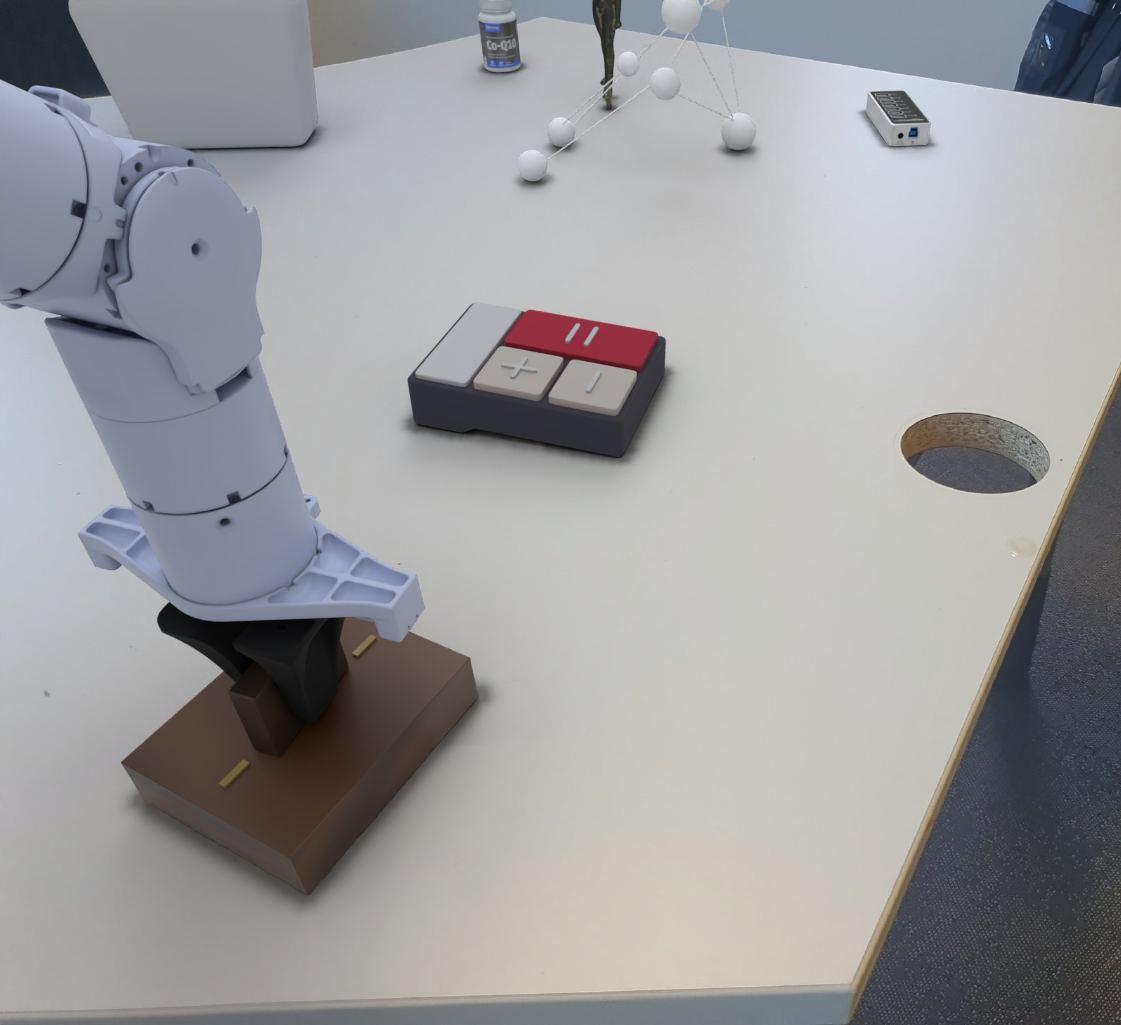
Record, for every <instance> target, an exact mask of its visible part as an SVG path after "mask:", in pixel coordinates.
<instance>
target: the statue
mask: <svg viewBox="0 0 1121 1025" xmlns="http://www.w3.org/2000/svg"><path fill="white" fill-rule="evenodd" d="M591 9H592V12H591V13H592V18H593V22H594V25H595V26H594V27H595V29H596V31H597V33H598V35H599V38H600V47H601V52H602V57H603V67H604V77H603V78H602V79H601V80H600V82H599V85H600V86H604V85H605V84H606V83H608V82H609V81H610V80H611V79H612V78H613V77H614V76H615V75H614V72H615V71H614V70H615V69H614V68H615V58H616V57H615V46H614V43H615V42H614V41H615V36H616V30H618V29H621V27H622V26H623V24H622V20H621V12H622V0H592V2H591ZM613 83H614V79H613V80H612V81H611V82H610V83H609V84H608V85H607V86H605V87H604V88H603V89H602V90H603V91H602V94H603V93H604V92H605V91H606V90H607V89H608V88H609V87H610V86H611V85H612V84H613ZM613 91H614V90H613V86H612V87H611V88H610V89H609V90H608V91H607V92H606V93H605V94H604V95H603V96H602V97H601V98H603V99H604V100H605V103H606V109H612V108H613V105H614V103H613Z"/></svg>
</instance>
